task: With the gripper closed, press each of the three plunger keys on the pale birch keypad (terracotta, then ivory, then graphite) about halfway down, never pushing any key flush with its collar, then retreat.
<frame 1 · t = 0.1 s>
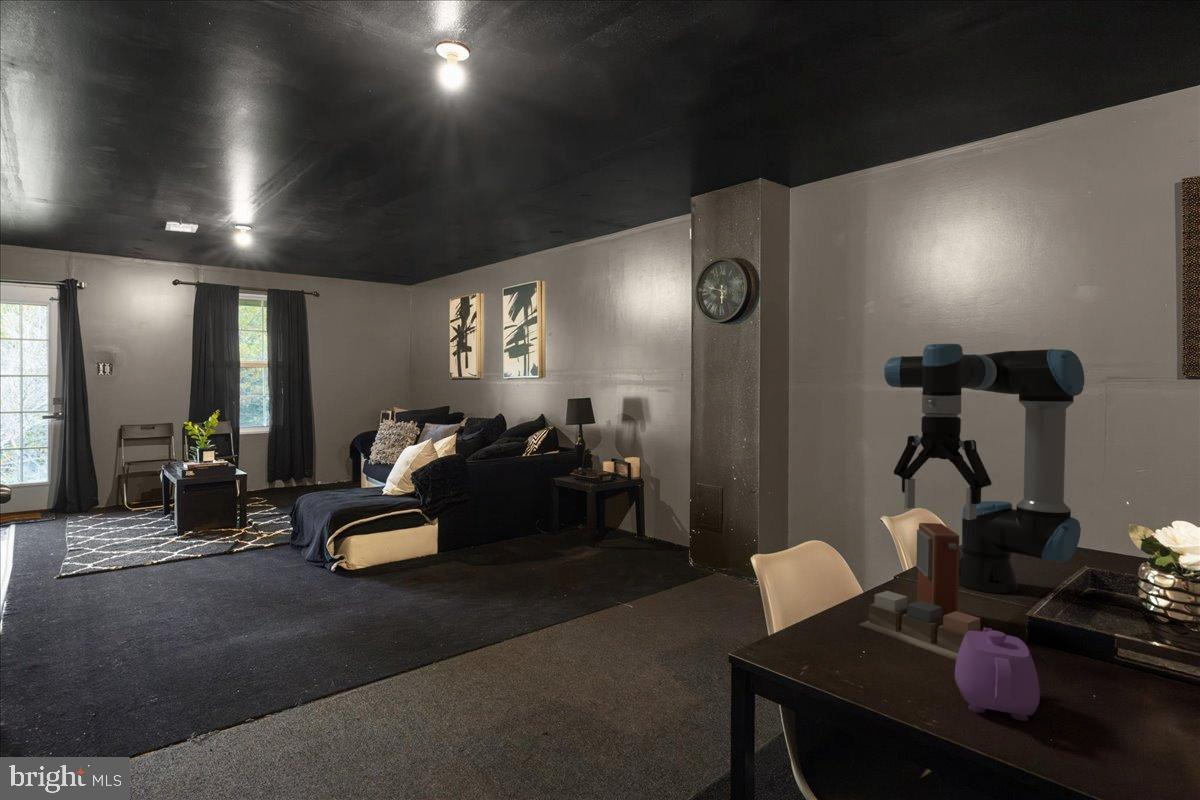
hand: (939, 513, 139), 28 cm above the table, fingers open, 13 cm apart
graphite key: (924, 614, 141), point 5 cm above the table, slide at 0.0 cm
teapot: (994, 705, 112), on the table
terracotta key: (961, 626, 135), point 5 cm above the table, slide at 0.0 cm
ivory key: (890, 604, 148), point 5 cm above the table, slide at 0.0 cm
keypad board: (924, 637, 141), on the table
terracotta and grey box: (936, 618, 153), on the table
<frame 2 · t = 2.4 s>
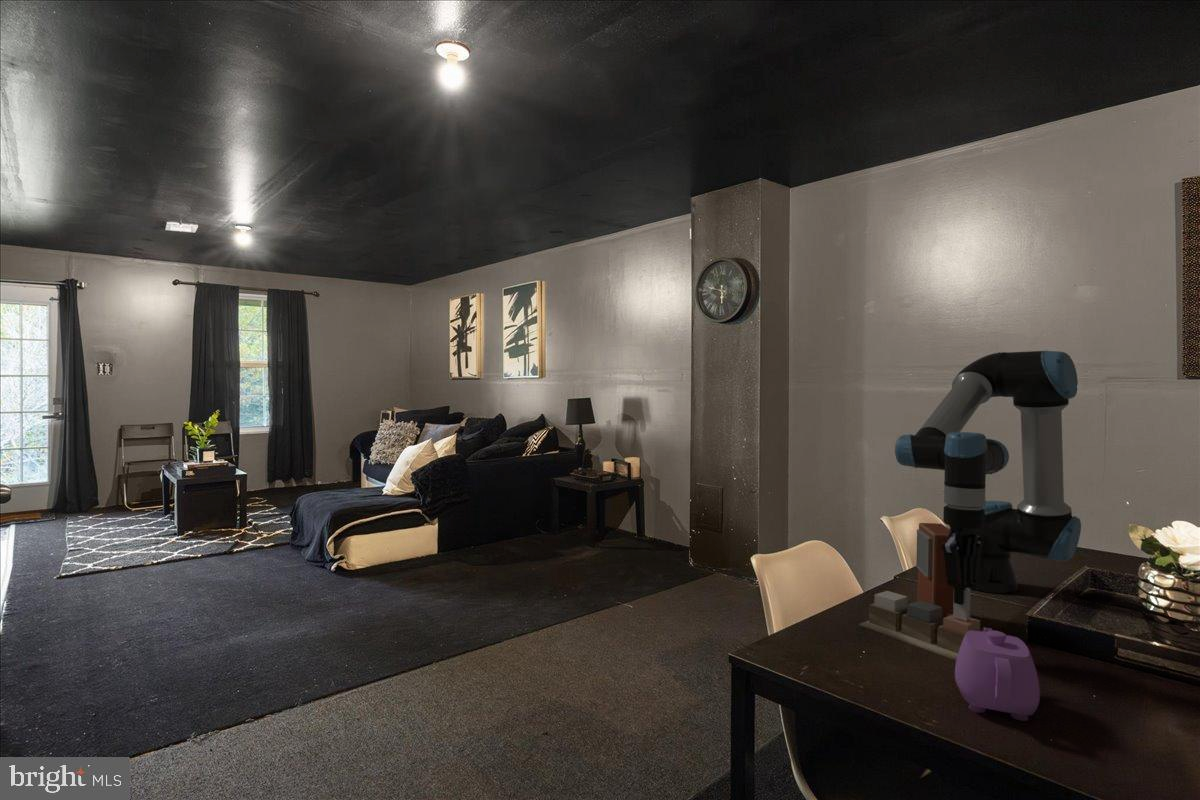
hand: (961, 618, 135), 7 cm above the table, fingers closed
terracotta key: (961, 628, 135), point 5 cm above the table, slide at 0.5 cm, touching gripper
everything else where it was.
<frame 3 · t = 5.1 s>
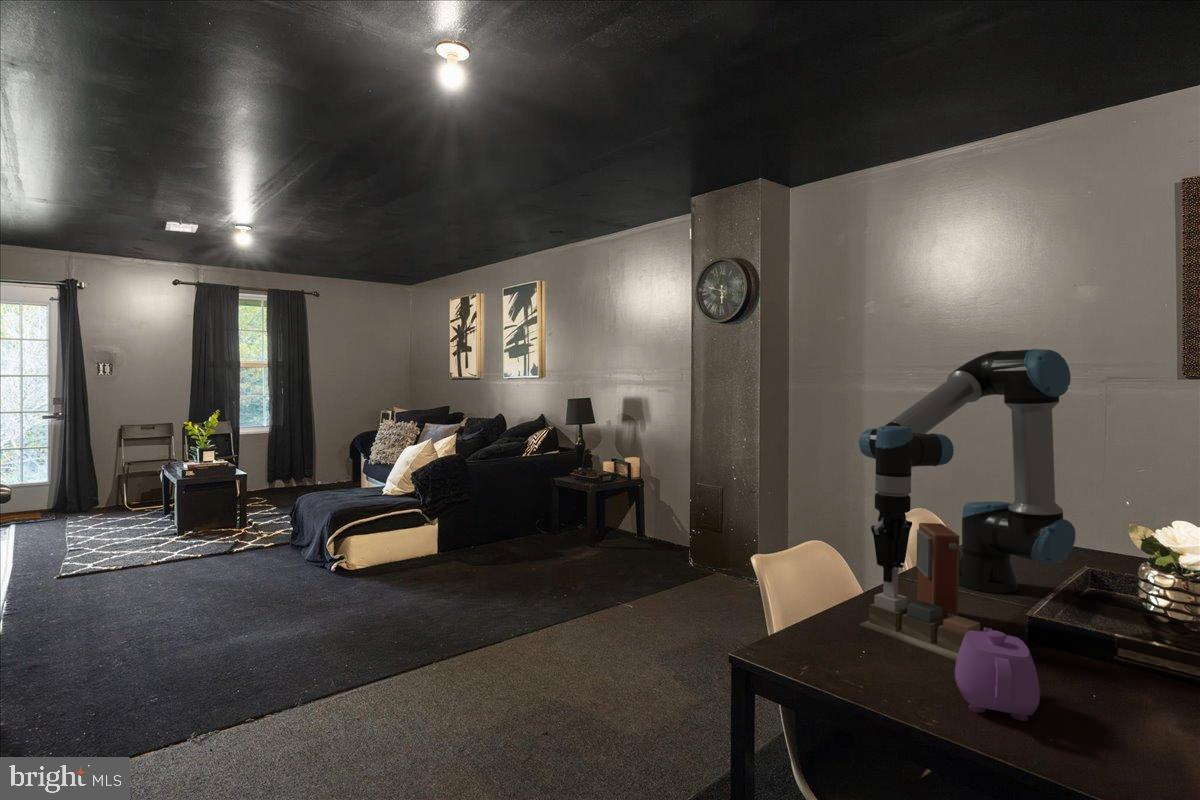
hand: (890, 595, 148), 7 cm above the table, fingers closed
terracotta key: (961, 630, 135), point 4 cm above the table, slide at 1.0 cm
ivory key: (890, 604, 148), point 5 cm above the table, slide at 0.1 cm, touching gripper
everything else where it was.
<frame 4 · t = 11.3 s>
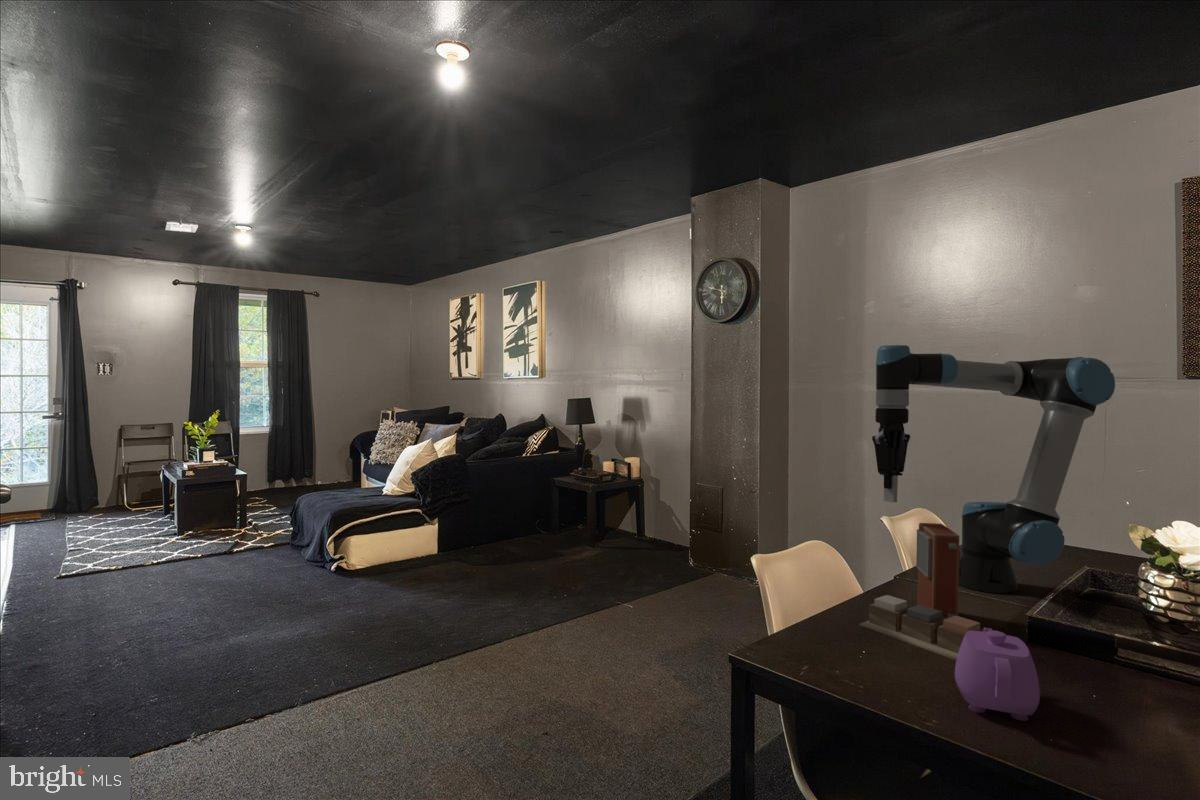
hand: (890, 501, 161), 26 cm above the table, fingers closed
graphite key: (924, 619, 141), point 4 cm above the table, slide at 1.0 cm
ivory key: (890, 608, 148), point 4 cm above the table, slide at 1.0 cm
everything else where it was.
at the end: terracotta key slide at 1.0 cm; ivory key slide at 1.0 cm; graphite key slide at 1.0 cm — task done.
